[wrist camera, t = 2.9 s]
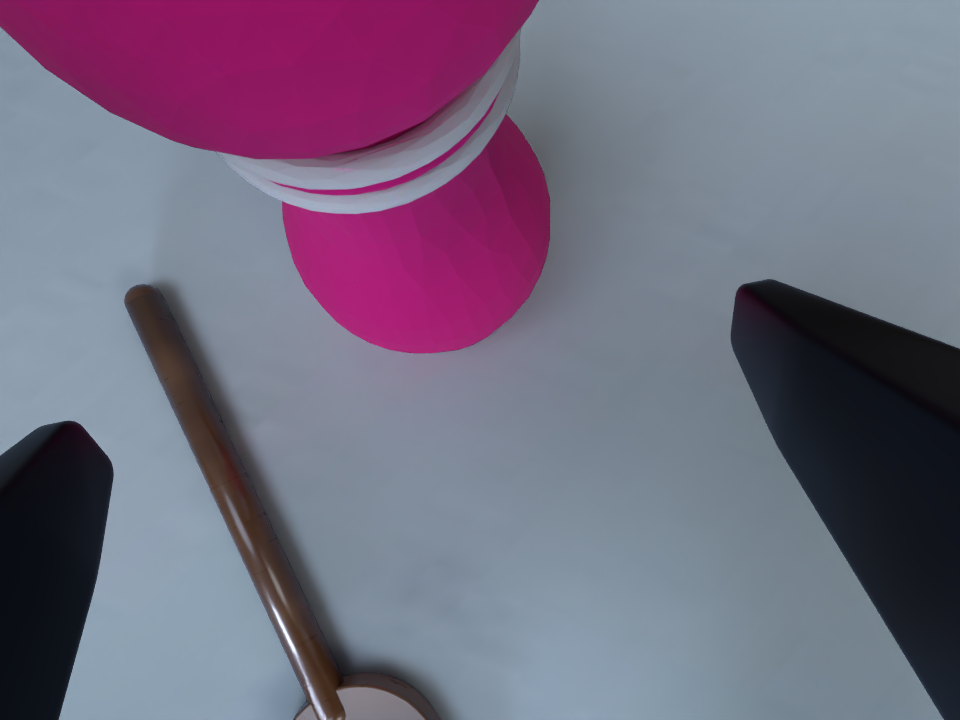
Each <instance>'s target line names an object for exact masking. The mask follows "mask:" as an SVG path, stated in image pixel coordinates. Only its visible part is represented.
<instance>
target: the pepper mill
mask: <svg viewBox="0 0 960 720" xmlns="http://www.w3.org/2000/svg"><path fill="white" fill-rule="evenodd" d="M538 1H539V0H0V27H1V28H2V29H3V30H5V31H6V32H7V33H8V34H9V35H10V36H11V37H12V38H13V39H14V40H15V41H16V42H17V43H19V44H20V45H21V46H22V47H23V48H24V49H25V50H26V51H27V52H28V53H29V54H30V55H31V56H32V57H34V58H35V59H36V60H37V61H38V62H39V63H40V64H41V65H42V66H43V67H44V68H45V69H47V70H48V71H50V72H51V73H53V74H54V75H56V76H57V77H59V78H60V79H62V80H63V81H65V82H66V83H68V84H69V85H70V86H72V87H73V88H75V89H76V90H78V91H79V92H81V93H82V94H84V95H85V96H87V97H88V98H90V99H91V100H93V101H94V102H96V103H97V104H99V105H100V106H101V107H103V108H104V109H106V110H107V111H109V112H111V113H113V114H115V115H117V116H119V117H122V118H124V119H126V120H128V121H130V122H133V123H135V124H137V125H139V126H141V127H144V128H146V129H148V130H150V131H152V132H154V133H157V134H159V135H161V136H163V137H165V138H168V139H170V140H172V141H175V142H179V143H182V144H185V145H188V146H191V147H195V148H200V149H205V150H211V151H215V152H216V153H217V154H218V155H220V156H221V157H222V159H223V160H224V161H225V162H226V163H227V164H228V165H229V167H230V168H231V169H232V170H234V171H235V172H236V173H237V174H239V175H240V176H241V177H242V178H243V179H245V180H246V181H247V182H248V183H249V184H251V185H253V186H254V187H256V188H257V189H259V190H261V191H262V192H264V193H266V194H267V195H269V196H272V197H274V198H276V199H279V200H281V201H282V211H283V222H284V226H285V231H286V236H287V240H288V244H289V247H290V251H291V254H292V258H293V261H294V264H295V266H296V268H297V270H298V272H299V274H300V276H301V278H302V280H303V282H304V284H305V286H306V287H307V288H308V289H309V291H310V292H311V293H312V294H313V296H314V297H315V298H316V299H317V301H318V302H319V303H320V304H321V306H322V307H323V308H324V309H325V310H326V311H327V312H328V313H329V314H330V315H331V316H332V317H333V318H334V319H335V321H336V322H338V323H339V324H340V325H342V326H343V327H344V328H346V329H347V330H348V331H350V332H351V333H352V334H354V335H356V336H358V337H360V338H361V339H363V340H365V341H367V342H369V343H371V344H374V345H377V346H380V347H383V348H386V349H389V350H395V351H401V352H407V353H436V352H444V351H452V350H459V349H462V348H464V347H467V346H470V345H473V344H475V343H476V342H478V341H480V340H482V339H484V338H486V337H487V336H489V335H490V334H491V333H492V332H494V331H495V330H496V329H497V328H499V327H500V326H501V325H503V324H504V323H505V322H506V321H507V320H509V319H510V318H511V317H512V316H513V315H514V314H515V312H516V311H517V310H518V309H519V308H520V307H521V305H522V304H523V303H524V302H525V301H526V300H527V299H528V297H529V295H530V294H531V292H532V290H533V288H534V286H535V284H536V283H537V281H538V279H539V277H540V275H541V272H542V269H543V266H544V263H545V260H546V257H547V252H548V246H549V240H550V197H549V193H548V189H547V184H546V180H545V176H544V173H543V171H542V168H541V166H540V164H539V161H538V159H537V157H536V155H535V153H534V152H533V150H532V148H531V147H530V145H529V143H528V142H527V140H526V139H525V137H524V136H523V134H522V133H521V131H520V130H519V128H518V127H517V126H516V125H515V124H514V122H513V121H512V120H511V119H510V118H509V117H508V116H507V115H506V112H507V110H508V107H509V105H510V102H511V100H512V97H513V93H514V89H515V85H516V81H517V76H518V68H519V61H520V32H521V27H522V25H523V24H524V23H525V21H526V20H527V19H528V18H529V16H530V15H531V13H532V11H533V10H534V8H535V6H536V4H537V3H538Z"/></svg>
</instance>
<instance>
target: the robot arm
mask: <svg viewBox="0 0 960 720" xmlns="http://www.w3.org/2000/svg"><path fill="white" fill-rule="evenodd" d="M731 344H732V348H733V351H734V353H735V356H736V358H737V360H738V362H739V364H740V367H741V369H742V371H743V373H744V375H745V378H746V380H747V382H748V384H749V386H750V389H751V391H752V393H753V395H754V397H755V400H756V402H757V404H758V406H759V408H760V411H761V413H762V415H763V417H764V419H765V422H766V424H767V426H768V428H769V430H770V432H771V434H772V436H773V438H774V440H775V442H776V444H777V446H778V448H779V450H780V451H781V453H782V455H783V456H784V458H785V460H786V462H787V463H788V465H789V466H790V468H791V470H792V471H793V473H794V475H795V476H796V478H797V480H798V481H799V483H800V484H801V486H802V488H803V489H804V491H805V493H806V494H807V496H808V498H809V499H810V501H811V503H812V504H813V506H814V507H815V509H816V511H817V512H818V514H819V516H820V517H821V519H822V521H823V522H824V524H825V525H826V527H827V529H828V530H829V532H830V534H831V535H832V537H833V539H834V540H835V542H836V544H837V545H838V547H839V548H840V550H841V552H842V553H843V555H844V557H845V558H846V560H847V562H848V563H849V565H850V566H851V568H852V570H853V571H854V573H855V575H856V576H857V578H858V580H859V581H860V583H861V585H862V586H863V588H864V589H865V591H866V593H867V594H868V596H869V598H870V599H871V601H872V603H873V604H874V606H875V608H876V609H877V611H878V612H879V614H880V616H881V617H882V619H883V621H884V622H885V624H886V626H887V627H888V629H889V630H890V632H891V634H892V635H893V637H894V639H895V640H896V642H897V644H898V645H899V647H900V649H901V650H902V652H903V653H904V655H905V657H906V658H907V660H908V662H909V663H910V665H911V667H912V668H913V670H914V671H915V673H916V675H917V676H918V678H919V680H920V681H921V683H922V685H923V686H924V688H925V690H926V691H927V693H928V694H929V696H930V698H931V699H932V701H933V703H934V704H935V706H936V708H937V709H938V711H939V712H940V714H941V716H942V717H943V719H944V720H960V349H959V348H956V347H954V346H951V345H948V344H946V343H943V342H940V341H938V340H935V339H932V338H929V337H927V336H924V335H921V334H919V333H916V332H913V331H911V330H908V329H905V328H903V327H900V326H897V325H894V324H892V323H889V322H886V321H884V320H881V319H878V318H876V317H873V316H870V315H868V314H865V313H862V312H859V311H857V310H854V309H851V308H849V307H846V306H843V305H841V304H838V303H835V302H833V301H830V300H827V299H824V298H822V297H819V296H816V295H814V294H811V293H808V292H806V291H803V290H800V289H797V288H795V287H792V286H789V285H787V284H784V283H781V282H779V281H776V280H773V279H766V280H761V281H756V282H752V283H747V284H743V285H742V286H740V287H739V288H738V290H737V292H736V296H735V304H734V312H733V319H732V327H731ZM113 476H114V474H113V467H112V463H111V461H110V459H109V458H108V456H107V455H106V454H105V453H104V451H103V450H102V449H101V448H100V447H99V446H98V444H97V443H96V442H95V441H94V440H93V438H92V437H91V436H90V435H89V434H88V432H87V431H86V430H85V429H84V428H83V427H82V426H81V425H80V424H78V423H77V422H75V421H63V422H58V423H53V424H48V425H44V426H41V427H39V428H37V429H35V430H34V431H33V432H31V433H30V434H29V435H27V436H26V437H25V438H23V439H22V440H21V441H19V442H18V443H17V444H15V445H14V446H13V447H11V448H10V449H9V450H7V451H6V452H5V453H3V454H2V455H1V456H0V720H59V716H60V713H61V709H62V705H63V702H64V698H65V694H66V691H67V687H68V683H69V680H70V676H71V672H72V669H73V665H74V662H75V658H76V654H77V651H78V647H79V643H80V640H81V636H82V632H83V629H84V625H85V621H86V618H87V614H88V610H89V607H90V603H91V600H92V596H93V592H94V588H95V584H96V580H97V575H98V570H99V564H100V559H101V552H102V546H103V540H104V534H105V527H106V521H107V515H108V508H109V502H110V496H111V490H112V483H113Z"/></svg>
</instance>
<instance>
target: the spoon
mask: <svg viewBox="0 0 960 720" xmlns="http://www.w3.org/2000/svg"><path fill="white" fill-rule="evenodd" d="M124 303H125V306H126V309H127V311H128V313H129V315H130V318H131V320H132V322H133V324H134V326H135V328H136V331H137V333H138V335H139V337H140V339H141V341H142V344H143V346H144V348H145V350H146V352H147V354H148V357H149V359H150V361H151V363H152V365H153V367H154V369H155V372H156V374H157V376H158V378H159V380H160V382H161V385H162V387H163V389H164V391H165V393H166V395H167V398H168V400H169V402H170V404H171V406H172V408H173V410H174V413H175V415H176V417H177V419H178V421H179V423H180V426H181V428H182V430H183V432H184V434H185V436H186V439H187V441H188V443H189V445H190V447H191V449H192V451H193V454H194V456H195V458H196V460H197V462H198V464H199V467H200V469H201V471H202V473H203V475H204V477H205V480H206V482H207V484H208V486H209V488H210V490H211V493H212V495H213V497H214V499H215V501H216V503H217V505H218V508H219V510H220V512H221V514H222V516H223V518H224V521H225V523H226V525H227V527H228V529H229V531H230V534H231V536H232V538H233V540H234V542H235V544H236V546H237V549H238V551H239V553H240V555H241V557H242V559H243V562H244V564H245V566H246V568H247V570H248V572H249V575H250V577H251V579H252V581H253V583H254V585H255V588H256V590H257V592H258V594H259V596H260V598H261V600H262V603H263V605H264V607H265V609H266V611H267V613H268V616H269V618H270V620H271V622H272V624H273V626H274V629H275V631H276V633H277V635H278V637H279V639H280V641H281V644H282V646H283V648H284V650H285V652H286V654H287V657H288V659H289V661H290V663H291V665H292V667H293V670H294V672H295V674H296V676H297V678H298V680H299V683H300V685H301V687H302V689H303V691H304V693H305V695H306V698H307V701H306V702H305V703H304V705H303V706H302V708H301V709H300V710H299V712H298V713H297V715H296V716H295V717H294V719H293V720H440V719H439V717H438V715H437V714H436V712H435V710H434V709H433V708H432V706H431V705H430V703H429V702H428V701H427V700H426V699H425V698H424V697H423V696H422V695H421V694H420V693H419V692H418V691H416V690H415V689H414V688H413V687H411V686H410V685H408V684H406V683H405V682H403V681H401V680H398V679H396V678H394V677H391V676H387V675H383V674H376V673H358V674H351V675H347V676H344V677H342V675H341V673H340V671H339V669H338V667H337V665H336V662H335V660H334V658H333V656H332V654H331V652H330V650H329V648H328V645H327V643H326V641H325V639H324V637H323V635H322V633H321V631H320V629H319V626H318V624H317V622H316V620H315V618H314V616H313V614H312V612H311V609H310V607H309V605H308V603H307V601H306V599H305V597H304V595H303V592H302V590H301V588H300V586H299V584H298V582H297V580H296V578H295V576H294V573H293V571H292V569H291V567H290V565H289V563H288V561H287V559H286V556H285V554H284V552H283V550H282V548H281V546H280V544H279V542H278V540H277V537H276V535H275V533H274V531H273V529H272V527H271V525H270V523H269V520H268V518H267V516H266V514H265V512H264V510H263V508H262V506H261V503H260V501H259V499H258V497H257V495H256V493H255V491H254V489H253V487H252V484H251V482H250V480H249V478H248V476H247V474H246V472H245V470H244V467H243V465H242V463H241V461H240V459H239V457H238V455H237V453H236V451H235V448H234V446H233V444H232V442H231V440H230V438H229V436H228V434H227V431H226V429H225V427H224V425H223V423H222V421H221V419H220V417H219V414H218V412H217V410H216V408H215V406H214V404H213V402H212V400H211V398H210V395H209V393H208V391H207V389H206V387H205V385H204V383H203V381H202V378H201V376H200V374H199V372H198V370H197V368H196V366H195V364H194V361H193V359H192V357H191V355H190V353H189V351H188V349H187V347H186V345H185V342H184V340H183V338H182V336H181V334H180V332H179V330H178V328H177V325H176V323H175V321H174V319H173V317H172V315H171V313H170V311H169V309H168V306H167V304H166V302H165V300H164V298H163V296H162V294H161V293H160V291H159V290H158V289H156V288H155V287H153V286H151V285H146V284H140V285H136V286H134V287H132V288H130V289H129V290H128V292H127V293H126V295H125V299H124Z"/></svg>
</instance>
